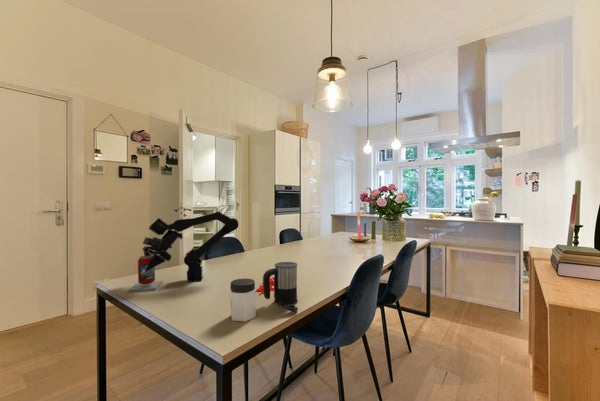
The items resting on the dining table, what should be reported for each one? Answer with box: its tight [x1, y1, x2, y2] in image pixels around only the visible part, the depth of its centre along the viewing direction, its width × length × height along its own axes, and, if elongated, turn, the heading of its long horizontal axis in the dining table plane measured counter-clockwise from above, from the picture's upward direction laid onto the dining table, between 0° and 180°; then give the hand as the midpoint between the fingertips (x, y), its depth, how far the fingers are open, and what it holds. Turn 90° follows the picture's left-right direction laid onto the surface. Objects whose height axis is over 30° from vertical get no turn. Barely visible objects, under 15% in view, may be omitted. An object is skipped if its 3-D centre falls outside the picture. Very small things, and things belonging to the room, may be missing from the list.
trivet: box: [128, 280, 164, 293], centre depth 130 cm, size 11×11×1 cm
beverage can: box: [137, 255, 156, 284], centre depth 129 cm, size 7×7×12 cm
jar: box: [230, 278, 256, 322], centre depth 97 cm, size 9×8×12 cm
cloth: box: [255, 276, 274, 296], centre depth 130 cm, size 26×14×2 cm, turn 160°
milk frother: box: [262, 261, 299, 313], centre depth 107 cm, size 14×16×15 cm
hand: (143, 268), depth 128 cm, fingers closed on beverage can, 7 cm apart
